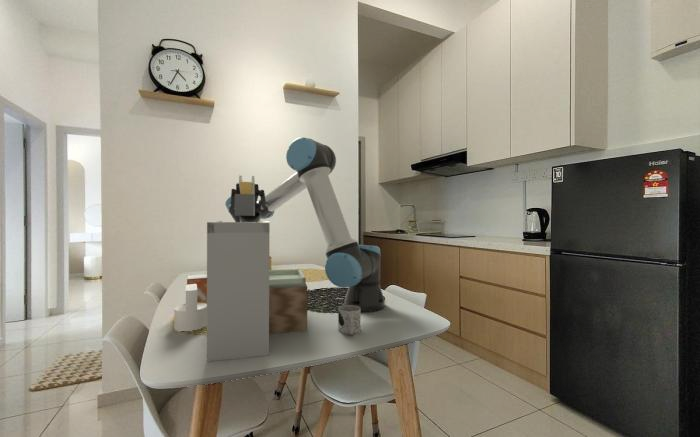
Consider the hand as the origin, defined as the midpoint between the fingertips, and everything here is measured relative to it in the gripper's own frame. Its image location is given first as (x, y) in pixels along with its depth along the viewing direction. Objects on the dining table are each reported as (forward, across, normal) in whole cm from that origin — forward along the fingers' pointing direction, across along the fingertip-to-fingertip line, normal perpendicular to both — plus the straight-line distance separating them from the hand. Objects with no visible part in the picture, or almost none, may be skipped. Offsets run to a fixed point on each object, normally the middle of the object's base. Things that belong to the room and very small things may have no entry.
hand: (246, 179), depth 95 cm
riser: (-22, -12, -40) cm, 47 cm away
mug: (-10, -30, -46) cm, 56 cm away
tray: (-15, -12, -28) cm, 34 cm away
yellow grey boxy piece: (-5, 0, -10) cm, 11 cm away
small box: (-35, +16, -32) cm, 50 cm away
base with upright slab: (-25, +16, -38) cm, 48 cm away
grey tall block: (-8, 0, -48) cm, 48 cm away
